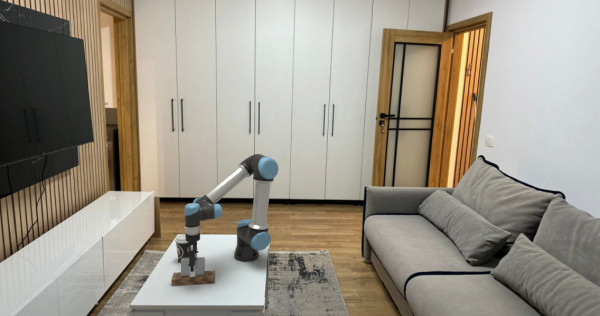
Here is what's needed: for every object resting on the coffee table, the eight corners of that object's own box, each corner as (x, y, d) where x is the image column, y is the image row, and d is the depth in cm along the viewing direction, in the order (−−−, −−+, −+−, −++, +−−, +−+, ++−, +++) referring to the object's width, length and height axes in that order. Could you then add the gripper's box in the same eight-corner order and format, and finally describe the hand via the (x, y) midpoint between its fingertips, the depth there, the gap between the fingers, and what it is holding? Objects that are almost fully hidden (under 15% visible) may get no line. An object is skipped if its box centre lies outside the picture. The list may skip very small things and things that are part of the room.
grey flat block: (205, 277, 217) (204, 257, 215) (204, 281, 214) (204, 260, 211) (182, 279, 215) (181, 258, 213) (181, 282, 212) (180, 261, 209)
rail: (215, 276, 220) (215, 270, 220) (214, 283, 213) (214, 277, 212) (173, 278, 217) (173, 272, 216) (171, 285, 209) (171, 279, 208)
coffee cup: (187, 265, 233) (186, 240, 230) (172, 263, 235) (171, 239, 232) (195, 258, 242) (194, 234, 239) (180, 256, 244) (179, 233, 241)
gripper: (187, 224, 221) (188, 260, 225) (182, 242, 197) (183, 282, 201) (201, 224, 222) (202, 260, 226) (198, 241, 198) (199, 281, 202)
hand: (193, 270), depth 214 cm, fingers open, 13 cm apart
